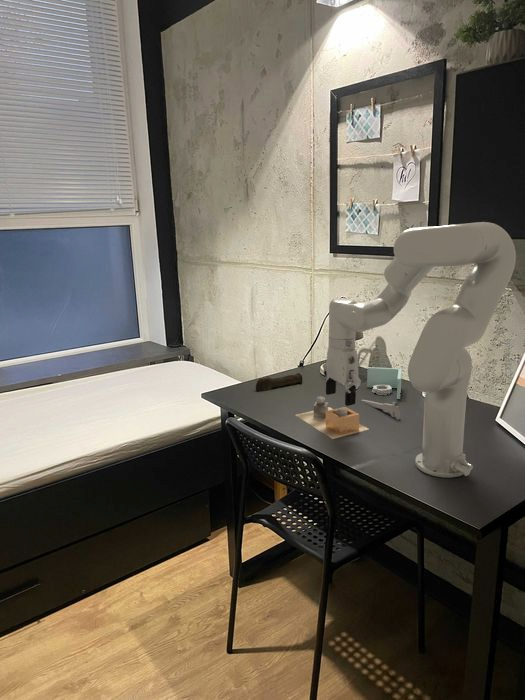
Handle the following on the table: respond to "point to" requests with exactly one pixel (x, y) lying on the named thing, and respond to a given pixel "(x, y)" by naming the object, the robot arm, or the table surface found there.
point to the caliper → (386, 408)
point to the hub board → (319, 418)
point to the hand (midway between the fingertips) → (340, 399)
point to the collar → (342, 421)
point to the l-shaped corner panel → (384, 380)
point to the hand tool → (278, 382)
